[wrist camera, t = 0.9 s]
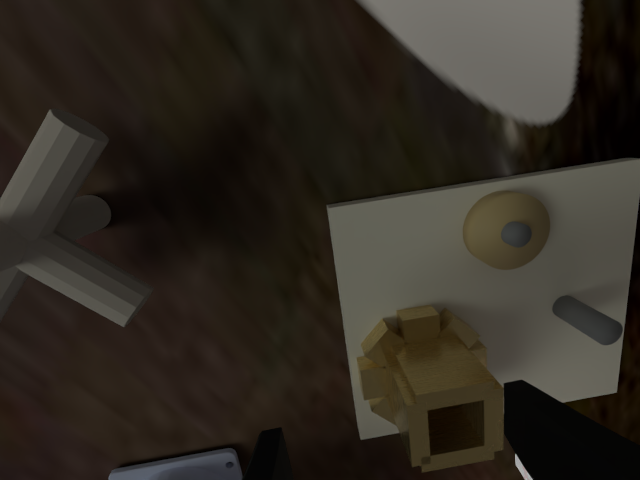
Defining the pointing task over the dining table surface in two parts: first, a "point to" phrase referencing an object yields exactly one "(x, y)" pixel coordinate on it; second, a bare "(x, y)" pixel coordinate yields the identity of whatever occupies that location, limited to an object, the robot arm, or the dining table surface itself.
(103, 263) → the pipe connector
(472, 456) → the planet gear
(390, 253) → the plate
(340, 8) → the dining table surface
